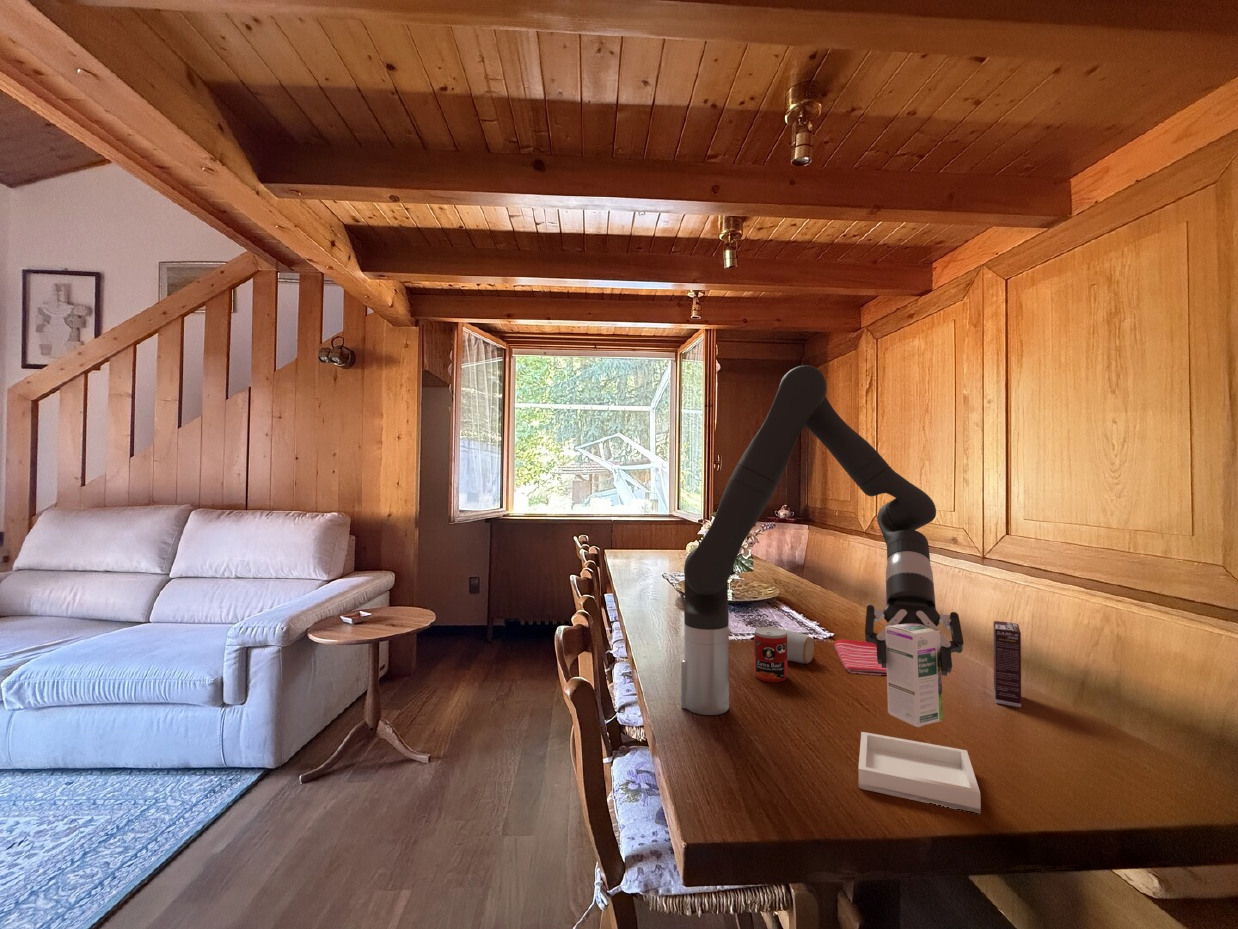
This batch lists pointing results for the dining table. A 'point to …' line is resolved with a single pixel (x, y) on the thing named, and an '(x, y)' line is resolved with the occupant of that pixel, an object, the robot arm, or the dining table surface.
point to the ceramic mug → (799, 647)
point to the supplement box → (1007, 663)
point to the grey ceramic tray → (918, 772)
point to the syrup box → (914, 673)
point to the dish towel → (859, 657)
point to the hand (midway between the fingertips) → (913, 669)
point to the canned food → (770, 654)
